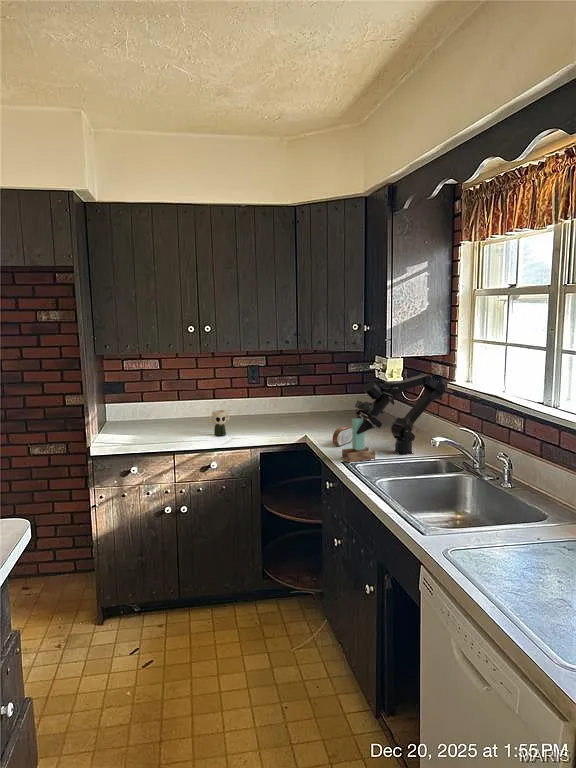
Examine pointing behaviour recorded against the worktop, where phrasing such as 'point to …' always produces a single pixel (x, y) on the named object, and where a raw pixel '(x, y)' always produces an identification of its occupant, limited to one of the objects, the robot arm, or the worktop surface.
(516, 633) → the worktop surface
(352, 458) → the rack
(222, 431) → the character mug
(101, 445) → the worktop surface
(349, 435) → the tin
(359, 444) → the block
